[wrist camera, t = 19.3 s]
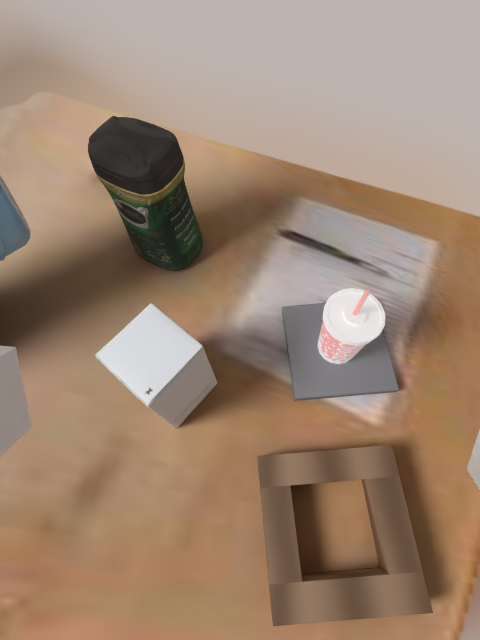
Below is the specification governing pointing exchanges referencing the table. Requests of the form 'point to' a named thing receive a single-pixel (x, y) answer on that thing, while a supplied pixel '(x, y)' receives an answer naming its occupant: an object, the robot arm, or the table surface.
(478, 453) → the robot arm
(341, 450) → the walnut holder
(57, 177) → the table surface
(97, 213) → the table surface
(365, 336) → the beverage cup
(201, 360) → the supplement box
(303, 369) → the slate coaster
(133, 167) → the coffee jar
